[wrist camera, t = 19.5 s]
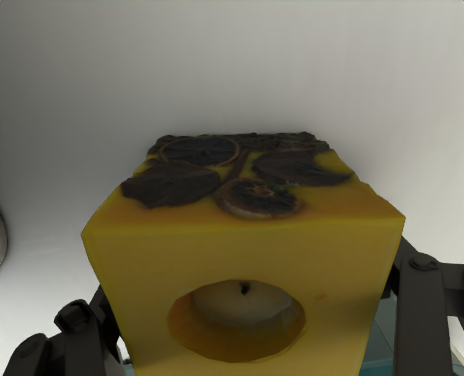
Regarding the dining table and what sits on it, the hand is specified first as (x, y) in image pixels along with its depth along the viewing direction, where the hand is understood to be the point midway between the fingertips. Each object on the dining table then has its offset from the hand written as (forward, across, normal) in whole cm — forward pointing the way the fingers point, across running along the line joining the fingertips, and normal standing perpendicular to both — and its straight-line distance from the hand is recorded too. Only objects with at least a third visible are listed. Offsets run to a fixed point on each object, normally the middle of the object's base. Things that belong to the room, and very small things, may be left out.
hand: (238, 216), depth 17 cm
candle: (+2, 0, 0) cm, 2 cm away
